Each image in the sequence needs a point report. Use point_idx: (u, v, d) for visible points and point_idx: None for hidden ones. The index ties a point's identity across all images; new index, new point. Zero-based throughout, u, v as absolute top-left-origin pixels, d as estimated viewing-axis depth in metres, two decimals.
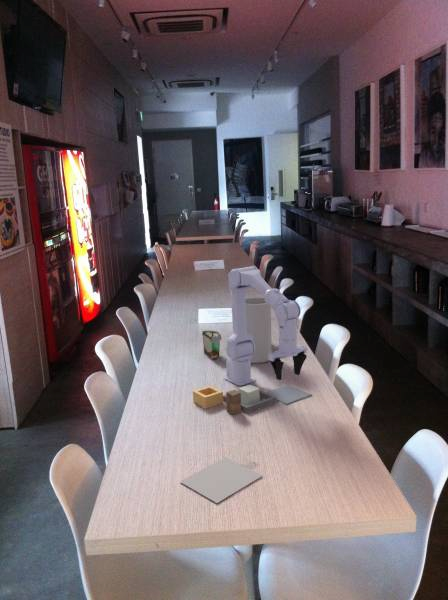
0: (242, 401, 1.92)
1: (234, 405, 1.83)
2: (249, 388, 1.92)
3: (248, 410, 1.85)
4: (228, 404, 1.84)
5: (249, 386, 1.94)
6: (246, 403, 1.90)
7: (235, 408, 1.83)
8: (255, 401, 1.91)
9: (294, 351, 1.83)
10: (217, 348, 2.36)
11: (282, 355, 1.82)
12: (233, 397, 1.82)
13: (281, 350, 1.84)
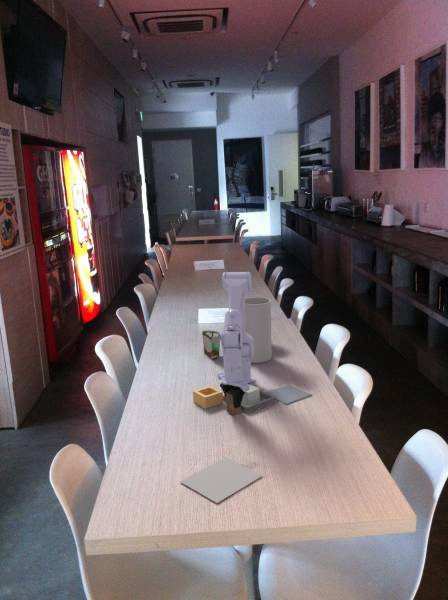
0: (242, 401, 1.92)
1: None
2: (249, 388, 1.92)
3: (248, 410, 1.85)
4: (228, 404, 1.84)
5: (249, 386, 1.94)
6: (246, 403, 1.90)
7: (235, 408, 1.83)
8: (255, 401, 1.91)
9: (227, 380, 1.81)
10: (217, 348, 2.36)
11: (221, 378, 1.85)
12: None
13: None
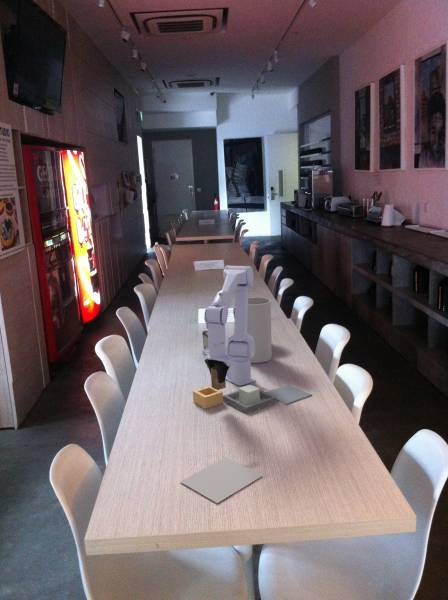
0: (242, 401, 1.92)
1: None
2: (249, 388, 1.92)
3: (248, 410, 1.85)
4: (213, 379, 1.87)
5: (249, 386, 1.94)
6: (246, 403, 1.90)
7: (219, 383, 1.86)
8: (255, 401, 1.91)
9: (211, 355, 1.84)
10: None
11: (206, 354, 1.88)
12: None
13: None
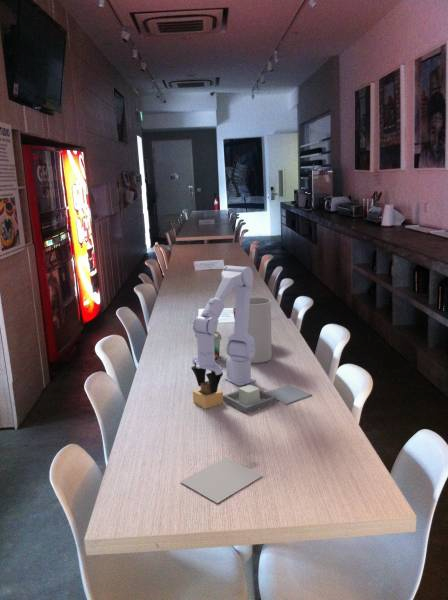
0: (242, 401, 1.92)
1: None
2: (249, 388, 1.92)
3: (248, 410, 1.85)
4: None
5: (249, 386, 1.94)
6: (246, 403, 1.90)
7: None
8: (255, 401, 1.91)
9: (200, 364, 1.88)
10: (217, 348, 2.36)
11: (196, 362, 1.92)
12: (207, 387, 1.90)
13: None
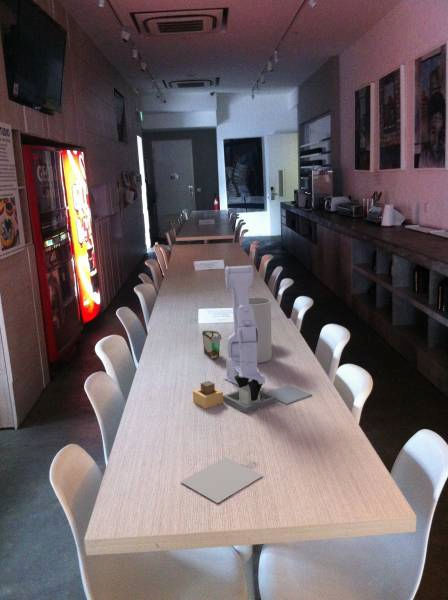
0: (242, 401, 1.92)
1: None
2: (249, 388, 1.92)
3: (248, 410, 1.85)
4: None
5: None
6: (246, 403, 1.90)
7: None
8: (255, 401, 1.91)
9: (243, 373, 1.88)
10: (217, 348, 2.36)
11: (237, 371, 1.92)
12: (207, 387, 1.90)
13: None
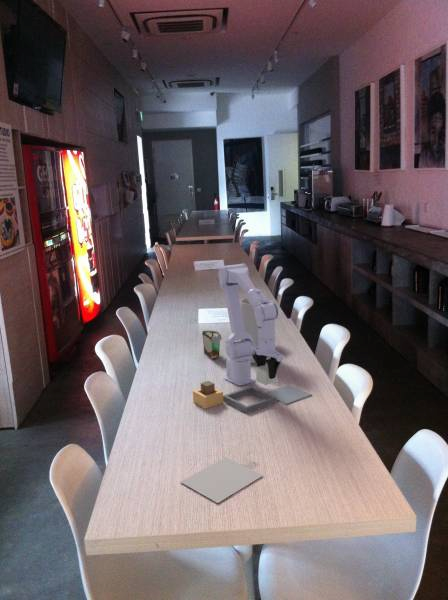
0: (259, 380, 1.93)
1: None
2: (266, 367, 1.93)
3: (248, 410, 1.85)
4: None
5: (267, 365, 1.94)
6: (263, 382, 1.91)
7: None
8: (272, 380, 1.92)
9: (261, 351, 1.89)
10: (217, 348, 2.36)
11: (255, 349, 1.93)
12: (207, 387, 1.90)
13: None
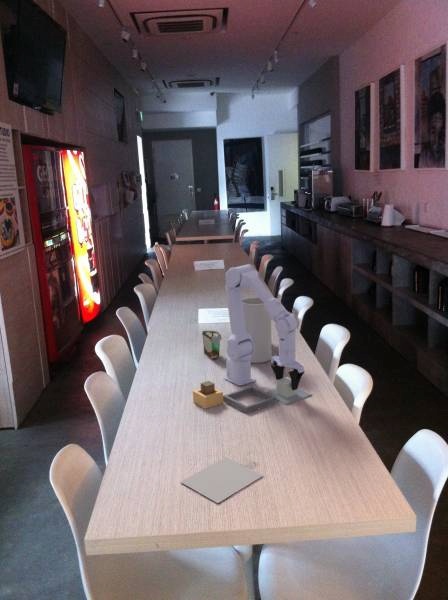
0: (280, 393, 1.97)
1: None
2: (286, 380, 1.97)
3: (248, 410, 1.85)
4: None
5: (286, 378, 1.98)
6: (284, 395, 1.95)
7: None
8: (292, 393, 1.96)
9: (282, 362, 1.93)
10: (217, 348, 2.36)
11: (276, 360, 1.97)
12: (207, 387, 1.90)
13: None
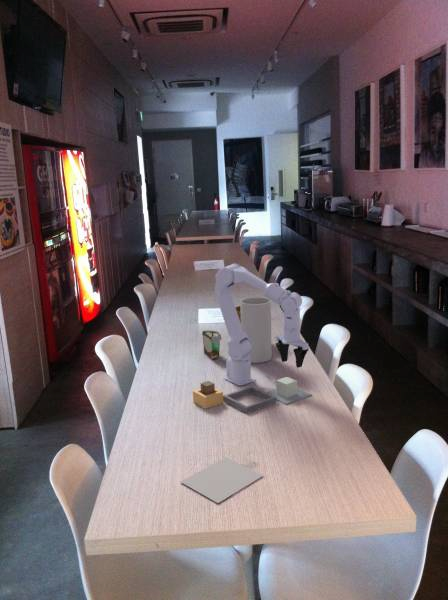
0: (280, 393, 1.97)
1: None
2: (286, 380, 1.97)
3: (248, 410, 1.85)
4: None
5: (286, 378, 1.98)
6: (284, 395, 1.95)
7: None
8: (293, 393, 1.96)
9: (287, 340, 1.97)
10: (217, 348, 2.36)
11: (280, 339, 2.01)
12: (207, 387, 1.90)
13: None
